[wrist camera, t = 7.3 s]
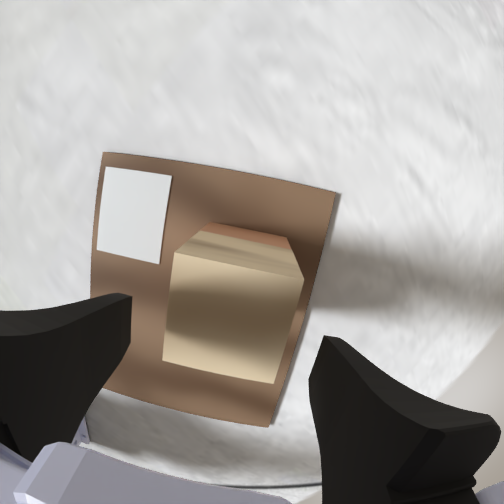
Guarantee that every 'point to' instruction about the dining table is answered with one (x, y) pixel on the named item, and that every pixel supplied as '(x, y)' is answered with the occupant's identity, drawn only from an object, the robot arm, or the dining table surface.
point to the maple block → (231, 306)
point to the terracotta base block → (247, 235)
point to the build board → (161, 261)
